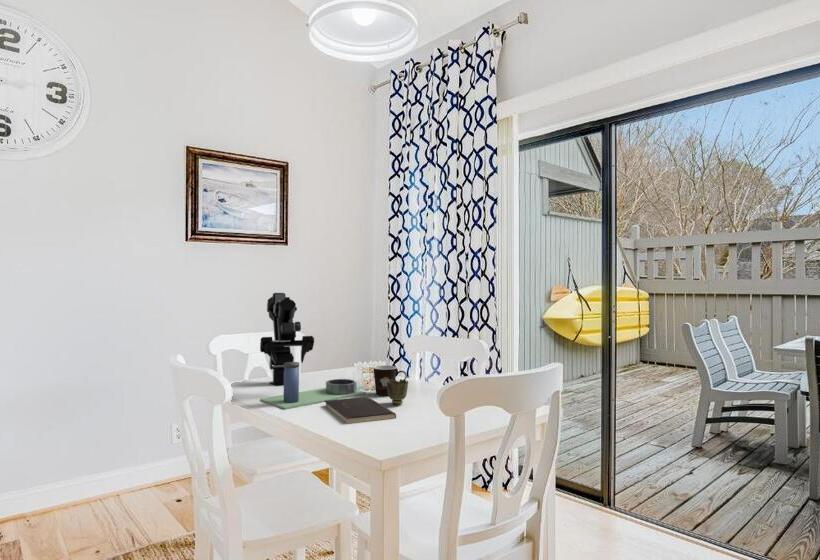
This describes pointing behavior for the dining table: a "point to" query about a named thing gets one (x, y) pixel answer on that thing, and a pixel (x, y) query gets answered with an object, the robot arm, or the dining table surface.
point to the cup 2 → (397, 390)
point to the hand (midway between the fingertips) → (289, 362)
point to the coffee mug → (384, 378)
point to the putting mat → (307, 398)
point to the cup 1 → (341, 386)
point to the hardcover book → (359, 410)
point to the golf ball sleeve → (291, 382)
